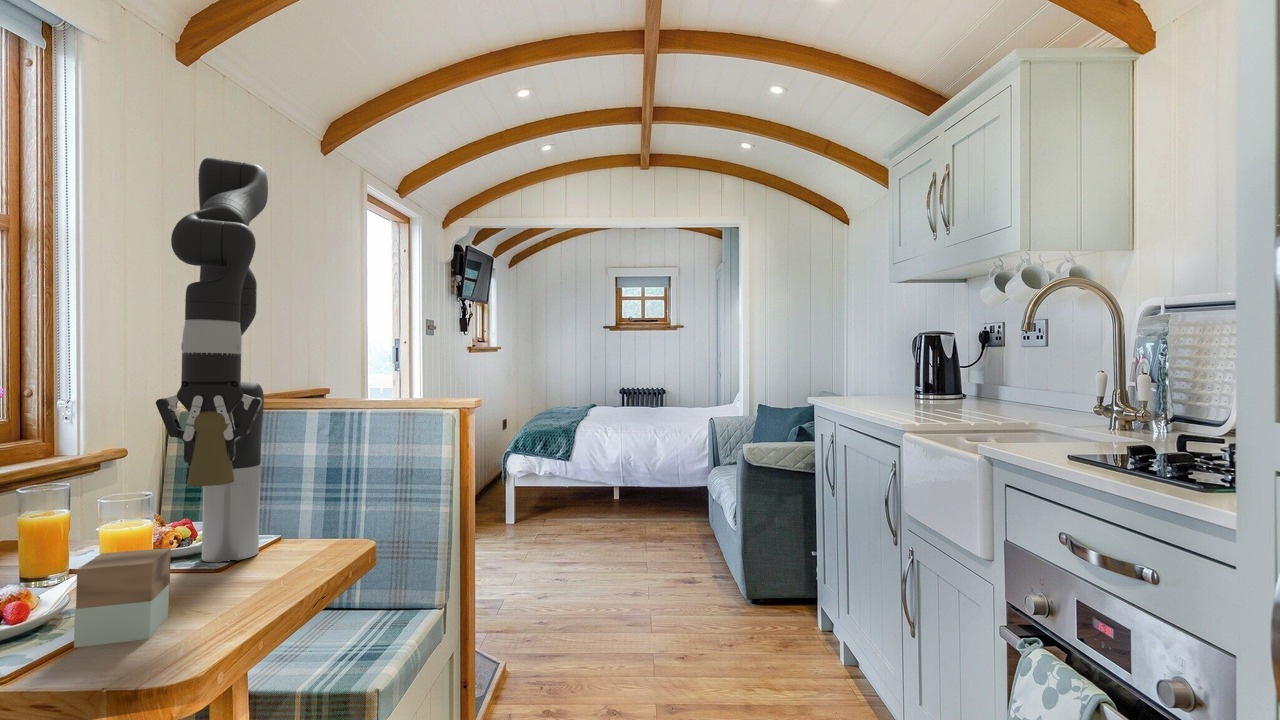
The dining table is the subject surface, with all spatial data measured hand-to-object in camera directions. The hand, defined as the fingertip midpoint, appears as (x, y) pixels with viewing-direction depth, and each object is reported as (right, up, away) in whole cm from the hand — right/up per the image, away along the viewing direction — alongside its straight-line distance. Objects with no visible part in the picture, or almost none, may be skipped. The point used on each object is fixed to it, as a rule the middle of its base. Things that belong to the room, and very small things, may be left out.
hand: (209, 464), depth 97 cm
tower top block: (-5, -16, -10) cm, 20 cm away
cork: (0, -3, 0) cm, 3 cm away
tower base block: (-5, -21, -10) cm, 24 cm away
